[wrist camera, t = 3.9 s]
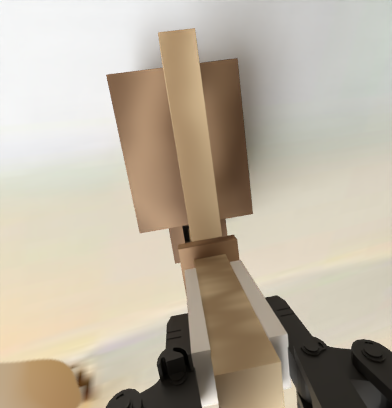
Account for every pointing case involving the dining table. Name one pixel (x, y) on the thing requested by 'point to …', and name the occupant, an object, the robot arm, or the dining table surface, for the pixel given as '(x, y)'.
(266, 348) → the key peg
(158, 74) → the lid
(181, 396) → the robot arm
